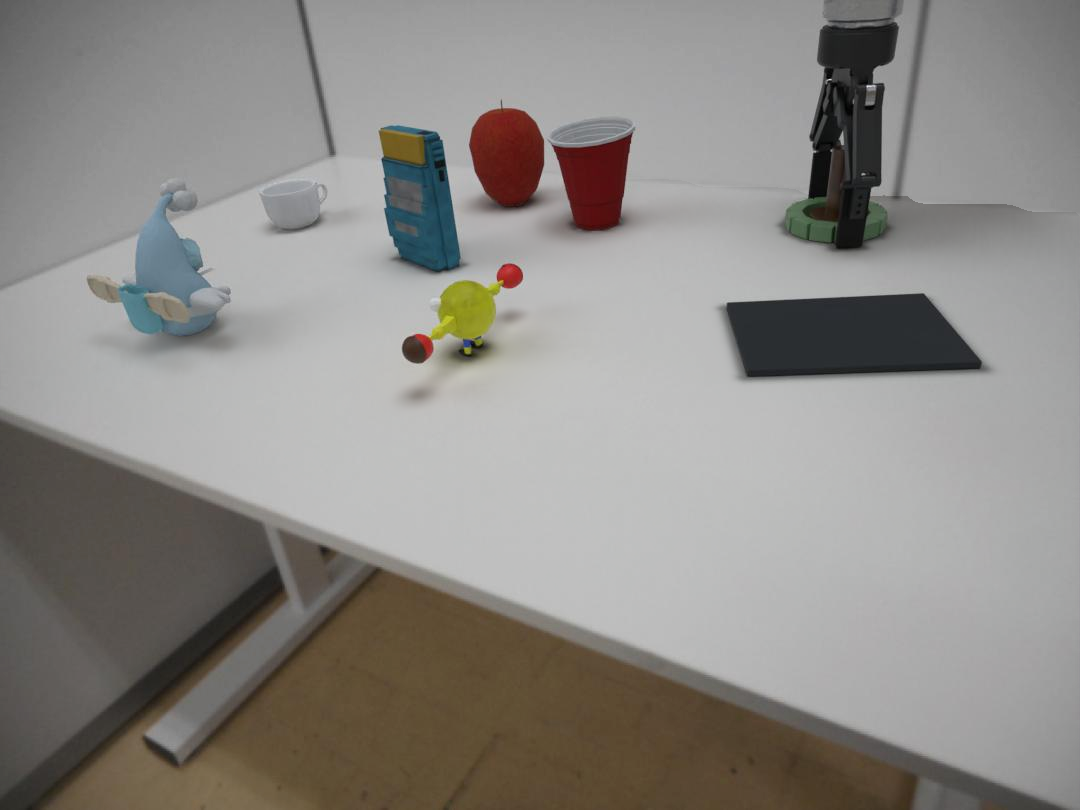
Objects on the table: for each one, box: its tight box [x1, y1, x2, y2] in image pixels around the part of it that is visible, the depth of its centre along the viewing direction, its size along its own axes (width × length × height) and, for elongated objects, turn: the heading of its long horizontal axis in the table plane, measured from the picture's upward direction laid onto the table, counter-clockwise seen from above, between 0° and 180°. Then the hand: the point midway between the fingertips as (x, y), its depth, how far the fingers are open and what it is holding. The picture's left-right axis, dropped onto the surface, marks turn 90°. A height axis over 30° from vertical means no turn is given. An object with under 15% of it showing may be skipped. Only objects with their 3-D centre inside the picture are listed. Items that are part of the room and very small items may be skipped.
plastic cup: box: [546, 115, 637, 231], centre depth 92 cm, size 11×11×12 cm
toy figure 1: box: [86, 177, 232, 337], centre depth 74 cm, size 17×10×15 cm, turn 57°
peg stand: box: [810, 144, 847, 222], centre depth 85 cm, size 6×6×9 cm
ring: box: [784, 197, 889, 244], centre depth 87 cm, size 11×11×2 cm
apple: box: [468, 98, 545, 208], centre depth 102 cm, size 10×10×14 cm
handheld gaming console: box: [378, 124, 462, 273], centre depth 85 cm, size 10×4×15 cm, turn 43°
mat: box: [726, 292, 983, 377], centre depth 65 cm, size 18×13×1 cm
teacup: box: [258, 178, 328, 230], centre depth 105 cm, size 10×8×5 cm
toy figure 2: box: [401, 262, 524, 365], centre depth 67 cm, size 18×6×7 cm, turn 152°
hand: (832, 224), depth 87 cm, fingers open, 13 cm apart
